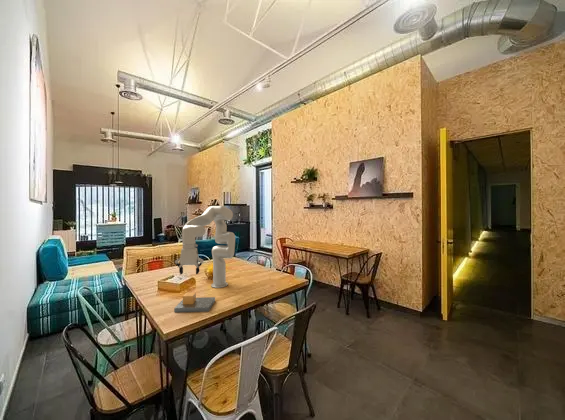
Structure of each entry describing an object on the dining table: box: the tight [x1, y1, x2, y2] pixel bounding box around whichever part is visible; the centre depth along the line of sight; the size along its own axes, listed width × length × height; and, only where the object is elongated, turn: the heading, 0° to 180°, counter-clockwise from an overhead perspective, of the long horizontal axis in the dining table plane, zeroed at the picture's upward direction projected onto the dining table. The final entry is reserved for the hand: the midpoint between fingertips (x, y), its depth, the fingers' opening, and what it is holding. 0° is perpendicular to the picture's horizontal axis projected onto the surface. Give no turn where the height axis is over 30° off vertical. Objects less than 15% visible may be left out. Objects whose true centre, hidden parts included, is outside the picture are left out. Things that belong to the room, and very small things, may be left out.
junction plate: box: [173, 296, 216, 313], centre depth 149 cm, size 16×20×6 cm
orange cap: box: [182, 292, 197, 304], centre depth 149 cm, size 6×6×5 cm
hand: (189, 273), depth 149 cm, fingers open, 9 cm apart
